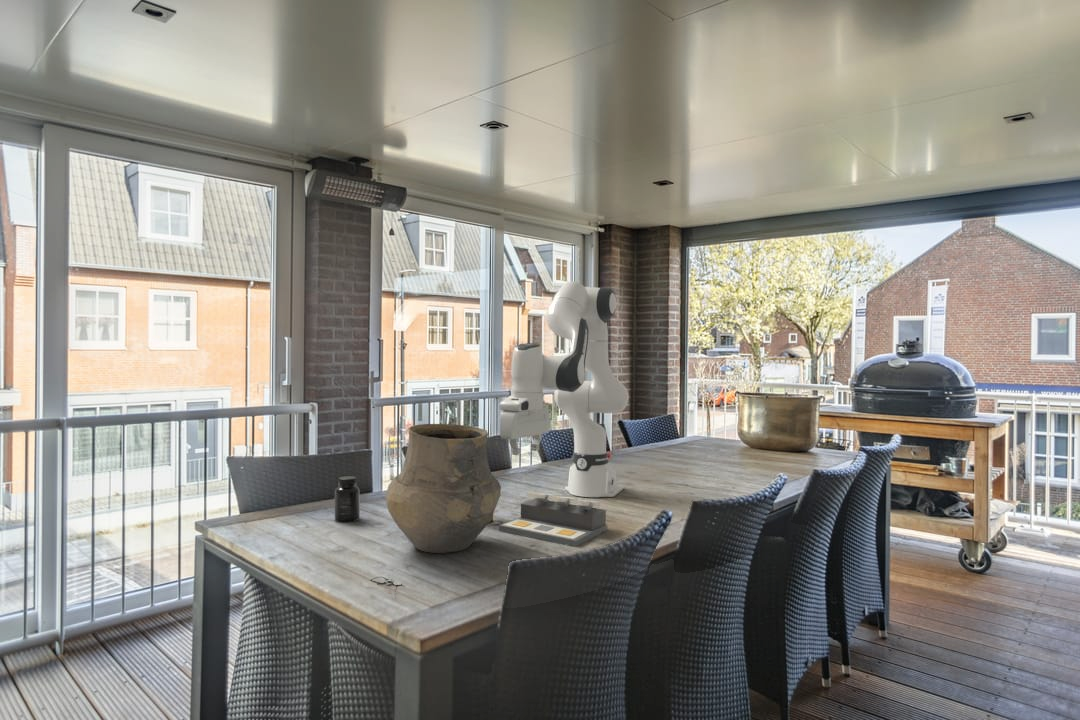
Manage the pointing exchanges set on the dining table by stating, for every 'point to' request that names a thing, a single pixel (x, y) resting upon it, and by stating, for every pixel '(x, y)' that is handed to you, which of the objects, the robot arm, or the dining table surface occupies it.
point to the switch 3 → (584, 504)
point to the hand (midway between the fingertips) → (525, 452)
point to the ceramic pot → (443, 488)
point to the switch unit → (557, 523)
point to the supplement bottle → (347, 500)
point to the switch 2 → (561, 500)
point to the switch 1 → (540, 497)
